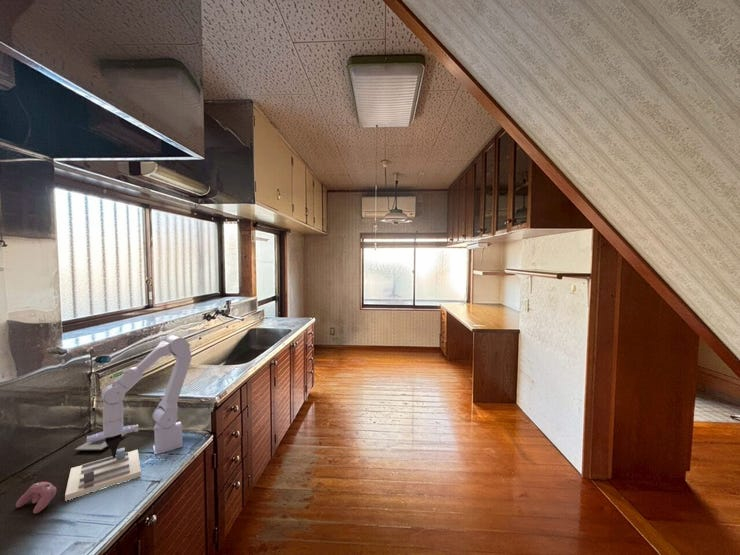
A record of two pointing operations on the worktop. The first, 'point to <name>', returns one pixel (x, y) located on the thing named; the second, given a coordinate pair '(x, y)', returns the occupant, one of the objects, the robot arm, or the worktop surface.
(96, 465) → the switch panel
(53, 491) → the video game controller
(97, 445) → the electrical outlet
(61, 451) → the worktop surface
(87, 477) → the charcoal tab
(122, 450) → the slate tab
